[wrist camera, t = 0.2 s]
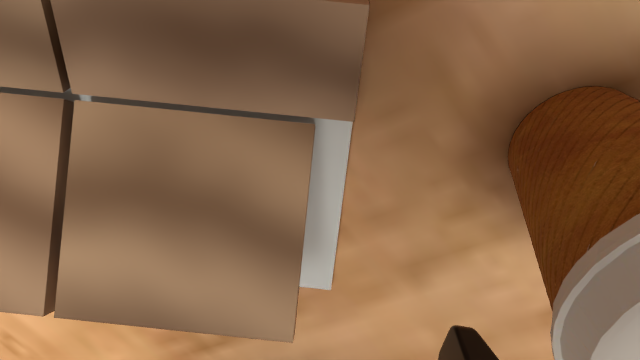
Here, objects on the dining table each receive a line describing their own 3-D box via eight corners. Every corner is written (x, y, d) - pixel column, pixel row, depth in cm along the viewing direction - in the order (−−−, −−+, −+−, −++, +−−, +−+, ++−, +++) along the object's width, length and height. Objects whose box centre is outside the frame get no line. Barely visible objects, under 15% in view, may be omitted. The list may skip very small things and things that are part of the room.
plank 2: (294, 333, 22) (292, 342, 20) (69, 309, 22) (54, 317, 21) (315, 126, 22) (314, 124, 20) (88, 104, 22) (74, 100, 21)
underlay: (331, 283, 28) (330, 289, 28) (-78, 240, 28) (-85, 246, 28) (354, 106, 22) (354, 110, 21) (-176, 53, 22) (-187, 56, 22)
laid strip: (354, 106, 22) (354, 121, 20) (-176, 53, 22) (-215, 65, 20) (368, -4, 19) (369, 5, 17) (-236, -63, 19) (-286, -59, 18)
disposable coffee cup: (493, 241, 26) (584, 468, 16) (455, 93, 21) (548, 277, 11) (682, 195, 23) (934, 428, 13) (685, 16, 19) (1074, 163, 9)
